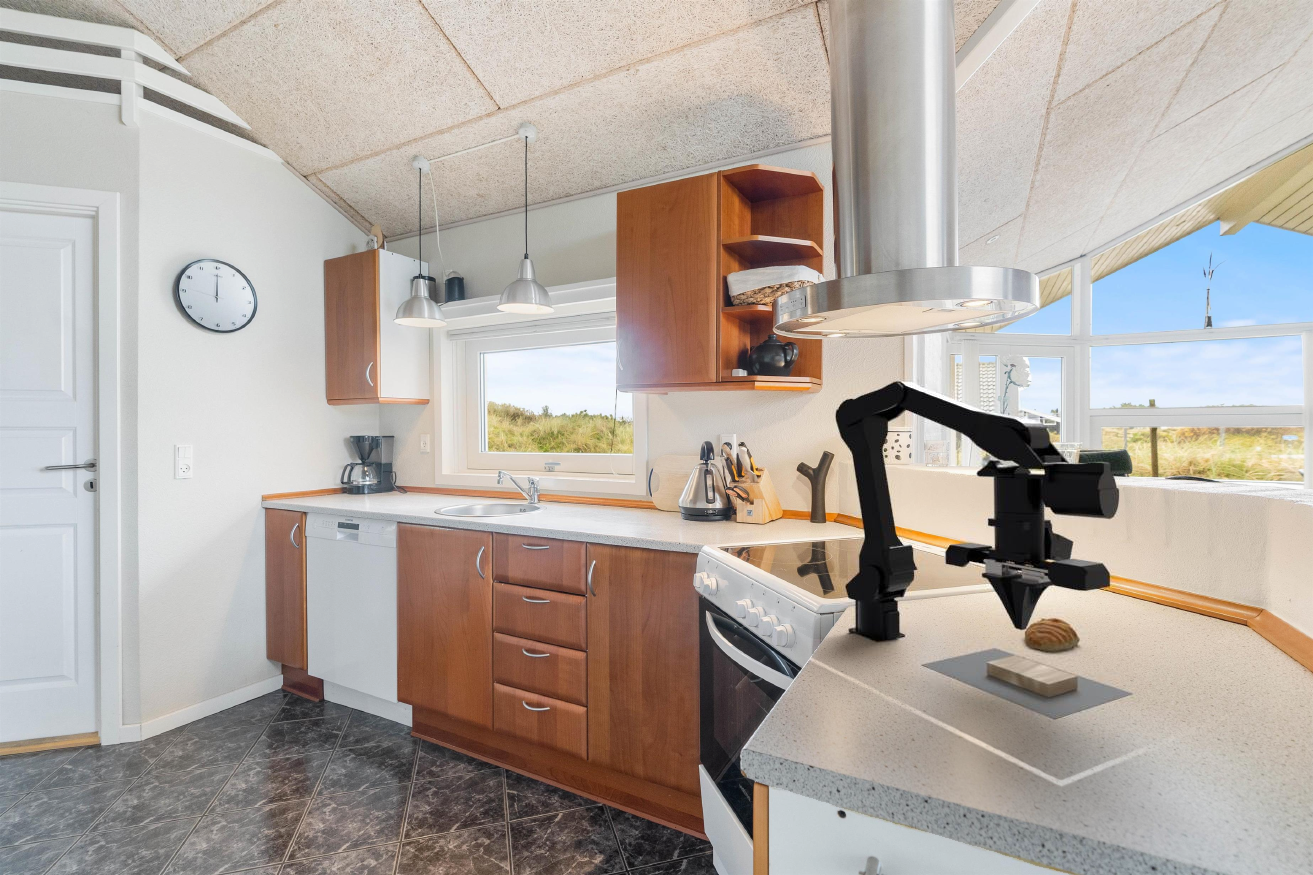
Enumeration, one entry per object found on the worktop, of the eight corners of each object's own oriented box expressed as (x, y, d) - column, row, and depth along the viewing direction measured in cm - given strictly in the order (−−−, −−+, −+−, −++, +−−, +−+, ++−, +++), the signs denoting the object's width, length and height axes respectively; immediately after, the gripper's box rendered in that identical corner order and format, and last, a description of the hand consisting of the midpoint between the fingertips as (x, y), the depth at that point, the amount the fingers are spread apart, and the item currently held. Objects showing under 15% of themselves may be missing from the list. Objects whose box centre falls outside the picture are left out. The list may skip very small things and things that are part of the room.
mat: (920, 667, 81) (920, 664, 81) (994, 650, 88) (994, 647, 88) (1054, 722, 65) (1054, 718, 65) (1132, 696, 72) (1132, 693, 72)
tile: (986, 662, 78) (1048, 684, 70) (1015, 655, 80) (1077, 675, 73) (986, 674, 78) (1048, 698, 70) (1015, 667, 80) (1077, 689, 73)
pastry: (1066, 660, 85) (1066, 634, 85) (1014, 648, 90) (1014, 624, 90) (1081, 645, 91) (1080, 621, 91) (1032, 635, 96) (1031, 612, 96)
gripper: (1133, 515, 72) (1136, 641, 72) (991, 503, 89) (993, 605, 88) (1081, 520, 67) (1084, 654, 67) (941, 506, 84) (943, 613, 84)
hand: (1020, 628), depth 77 cm, fingers closed
